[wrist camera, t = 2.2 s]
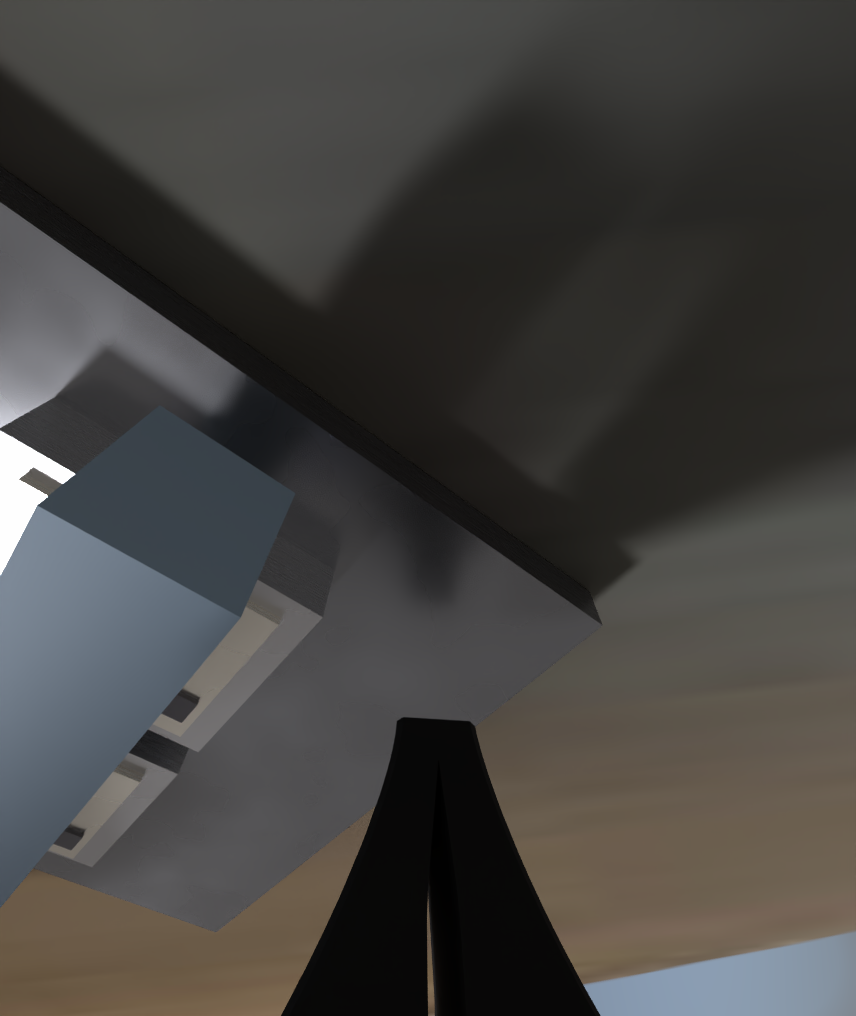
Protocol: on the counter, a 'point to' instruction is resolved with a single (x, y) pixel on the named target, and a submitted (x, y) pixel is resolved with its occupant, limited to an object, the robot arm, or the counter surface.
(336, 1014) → the robot arm
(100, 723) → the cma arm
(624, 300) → the counter surface
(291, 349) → the counter surface
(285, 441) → the chassis
